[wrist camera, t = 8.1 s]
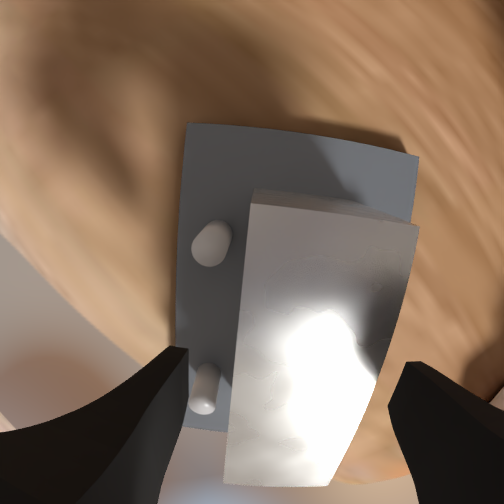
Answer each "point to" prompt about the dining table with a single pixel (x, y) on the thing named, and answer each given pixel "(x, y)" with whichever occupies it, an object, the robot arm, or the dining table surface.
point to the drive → (311, 332)
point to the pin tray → (236, 229)
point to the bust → (499, 400)
